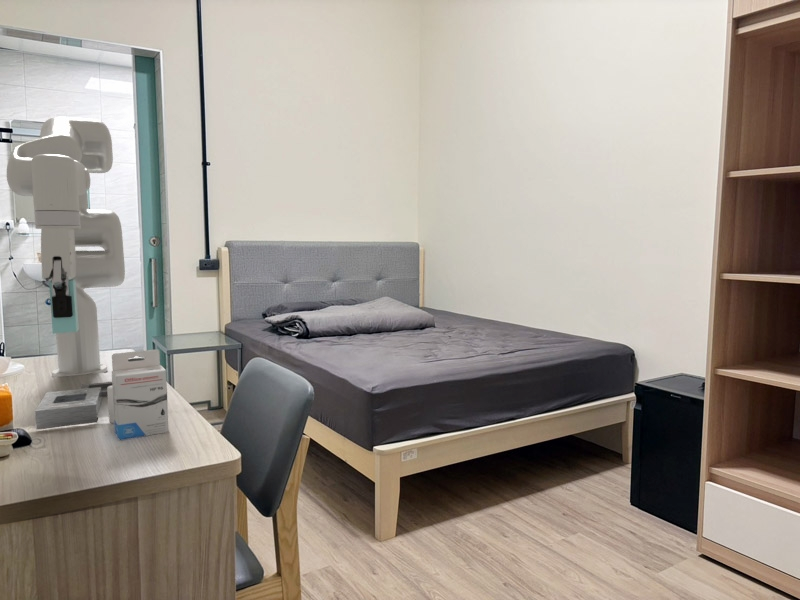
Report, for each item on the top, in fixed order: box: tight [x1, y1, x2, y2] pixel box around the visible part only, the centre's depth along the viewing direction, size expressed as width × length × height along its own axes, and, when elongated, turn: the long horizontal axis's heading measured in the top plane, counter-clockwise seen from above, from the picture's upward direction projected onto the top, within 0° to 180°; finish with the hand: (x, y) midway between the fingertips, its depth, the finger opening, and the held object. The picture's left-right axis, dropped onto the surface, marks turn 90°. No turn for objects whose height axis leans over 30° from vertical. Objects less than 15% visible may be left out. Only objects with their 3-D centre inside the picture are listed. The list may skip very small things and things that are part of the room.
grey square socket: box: [80, 381, 112, 398], centre depth 130 cm, size 9×9×2 cm
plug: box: [48, 278, 79, 334], centre depth 114 cm, size 4×4×10 cm
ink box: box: [111, 348, 170, 441], centre depth 105 cm, size 8×5×15 cm, turn 123°
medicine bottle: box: [107, 357, 145, 425], centre depth 112 cm, size 7×7×12 cm
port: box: [34, 387, 103, 430], centre depth 116 cm, size 14×10×4 cm
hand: (64, 314), depth 114 cm, fingers closed on plug, 4 cm apart
